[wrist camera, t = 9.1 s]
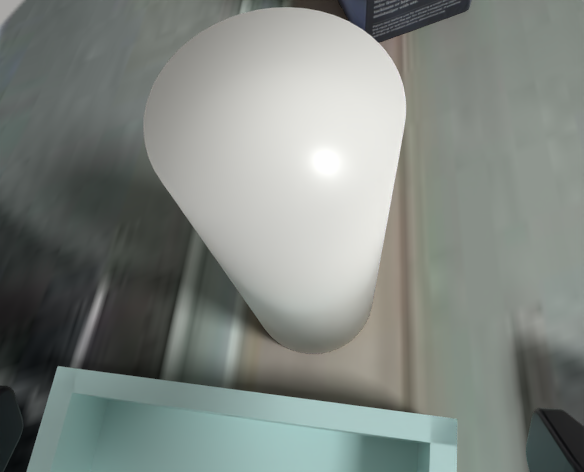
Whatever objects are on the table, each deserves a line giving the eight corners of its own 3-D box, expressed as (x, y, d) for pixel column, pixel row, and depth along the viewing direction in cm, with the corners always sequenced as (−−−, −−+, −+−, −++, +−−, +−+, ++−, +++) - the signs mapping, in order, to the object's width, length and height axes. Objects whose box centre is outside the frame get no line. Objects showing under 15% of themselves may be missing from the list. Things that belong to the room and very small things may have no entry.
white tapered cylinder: (367, 361, 20) (398, 240, 8) (246, 346, 21) (114, 216, 9) (376, 244, 22) (412, 10, 10) (264, 234, 23) (174, 4, 11)
